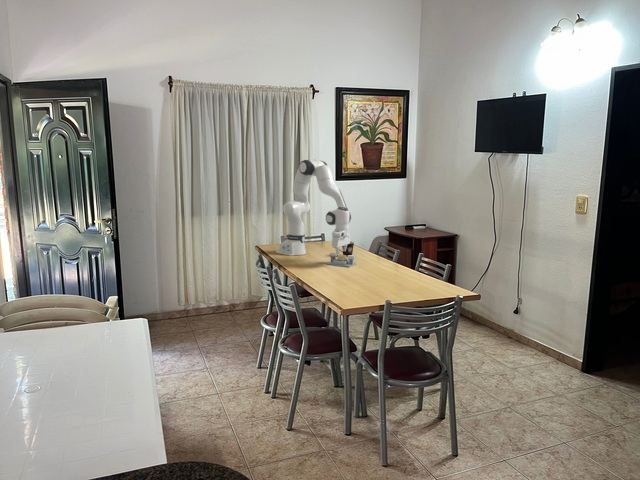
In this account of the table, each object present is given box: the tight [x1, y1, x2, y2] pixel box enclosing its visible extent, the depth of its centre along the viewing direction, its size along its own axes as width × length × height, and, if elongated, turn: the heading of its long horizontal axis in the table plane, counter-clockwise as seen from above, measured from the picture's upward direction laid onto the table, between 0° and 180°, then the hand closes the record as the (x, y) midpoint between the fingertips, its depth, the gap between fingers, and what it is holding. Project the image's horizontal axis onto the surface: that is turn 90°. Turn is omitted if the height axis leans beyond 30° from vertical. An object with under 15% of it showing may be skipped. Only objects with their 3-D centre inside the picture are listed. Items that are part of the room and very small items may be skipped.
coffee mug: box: [339, 240, 355, 258], centre depth 357 cm, size 12×9×10 cm
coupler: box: [337, 254, 348, 262], centre depth 330 cm, size 4×4×5 cm
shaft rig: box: [327, 252, 357, 268], centre depth 330 cm, size 18×11×7 cm, turn 61°
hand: (341, 252), depth 329 cm, fingers open, 8 cm apart
